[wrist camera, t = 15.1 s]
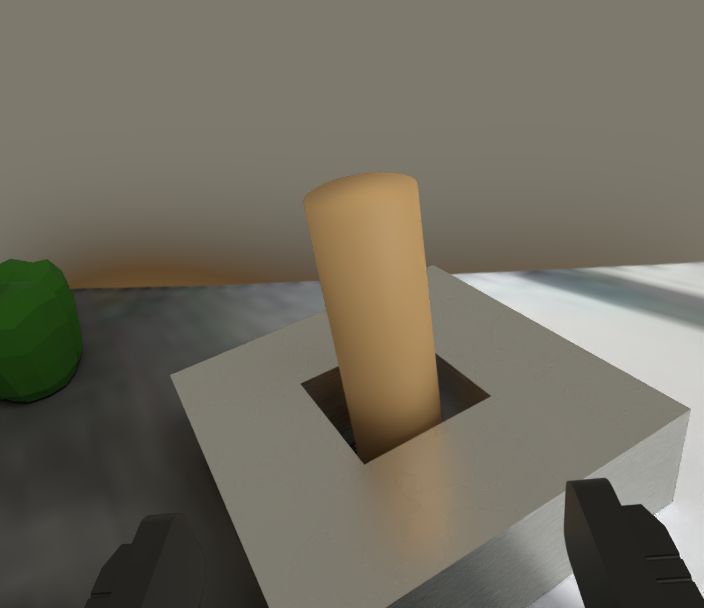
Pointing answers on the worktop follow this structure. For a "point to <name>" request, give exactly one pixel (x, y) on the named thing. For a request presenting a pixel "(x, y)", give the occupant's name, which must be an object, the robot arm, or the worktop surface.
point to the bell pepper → (36, 330)
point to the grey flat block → (425, 460)
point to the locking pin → (377, 305)
